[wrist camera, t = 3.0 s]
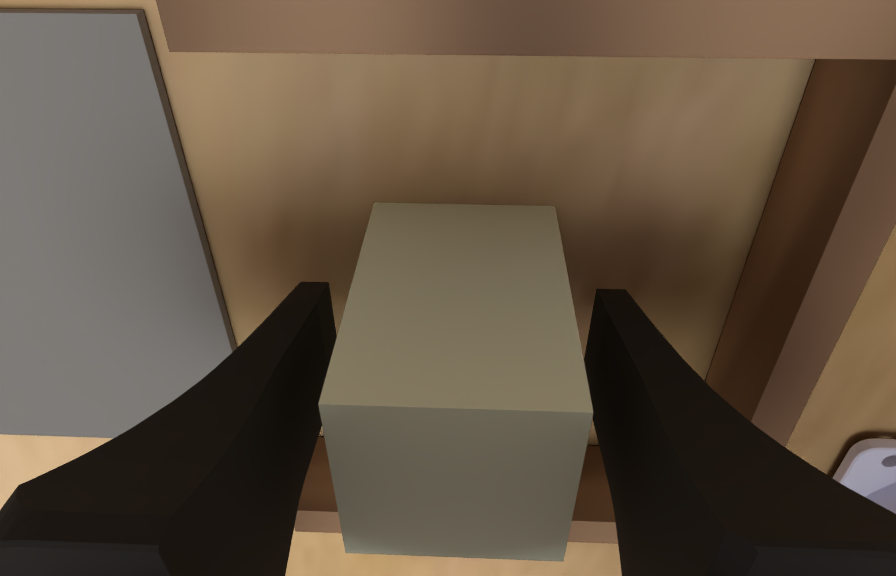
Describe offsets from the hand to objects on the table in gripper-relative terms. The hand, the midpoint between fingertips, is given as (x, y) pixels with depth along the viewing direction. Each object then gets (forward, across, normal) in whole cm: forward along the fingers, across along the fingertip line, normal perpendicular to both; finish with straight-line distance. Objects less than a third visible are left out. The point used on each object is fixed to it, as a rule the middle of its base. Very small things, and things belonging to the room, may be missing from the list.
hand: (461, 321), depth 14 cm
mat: (+2, +10, 0) cm, 10 cm away
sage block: (+2, 0, 0) cm, 2 cm away
